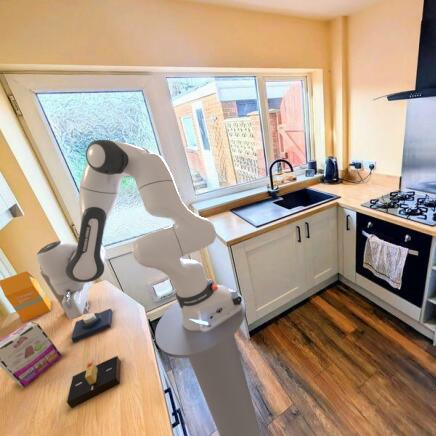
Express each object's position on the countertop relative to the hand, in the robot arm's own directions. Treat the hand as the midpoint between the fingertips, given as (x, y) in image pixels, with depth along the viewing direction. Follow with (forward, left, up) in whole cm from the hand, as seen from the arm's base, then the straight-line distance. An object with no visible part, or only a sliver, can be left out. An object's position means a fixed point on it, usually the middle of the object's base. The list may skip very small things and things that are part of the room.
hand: (86, 311), depth 96 cm
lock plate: (-4, +31, -8) cm, 32 cm away
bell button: (0, 0, -4) cm, 4 cm away
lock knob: (-4, +31, -5) cm, 31 cm away
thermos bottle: (+8, -17, -8) cm, 21 cm away
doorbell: (0, +1, -8) cm, 8 cm away
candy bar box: (+14, +13, -8) cm, 20 cm away
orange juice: (+24, -28, -8) cm, 37 cm away
